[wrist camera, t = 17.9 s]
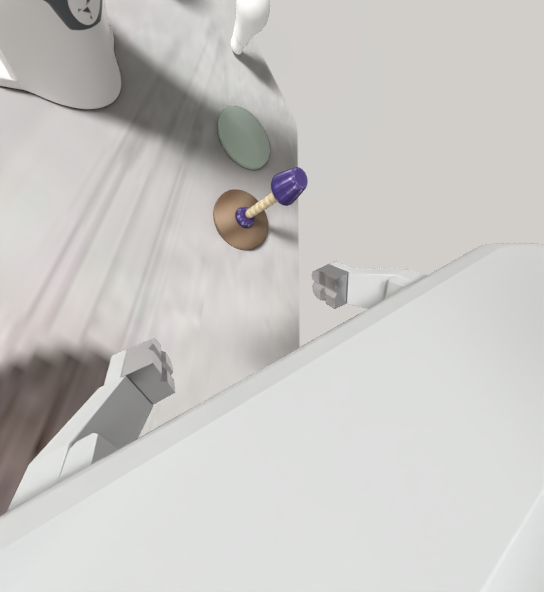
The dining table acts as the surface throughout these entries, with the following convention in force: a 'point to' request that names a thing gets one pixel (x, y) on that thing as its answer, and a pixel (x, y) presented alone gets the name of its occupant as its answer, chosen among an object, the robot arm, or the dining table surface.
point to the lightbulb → (248, 21)
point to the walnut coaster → (229, 225)
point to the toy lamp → (275, 195)
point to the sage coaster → (243, 138)
